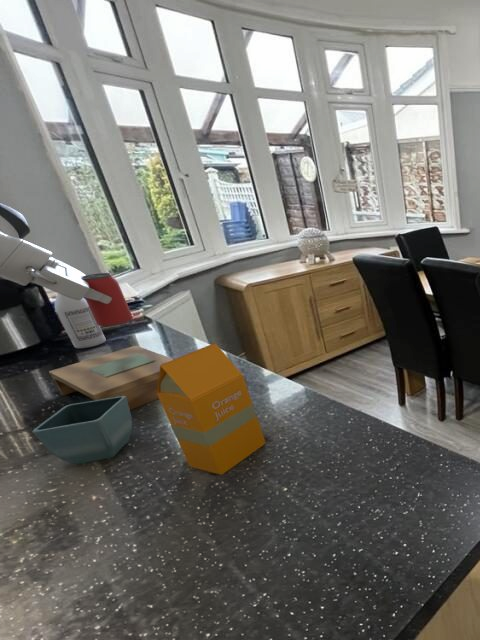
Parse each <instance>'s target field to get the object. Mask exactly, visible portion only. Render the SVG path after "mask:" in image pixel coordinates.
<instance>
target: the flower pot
mask: <svg viewBox="0 0 480 640" xmlns="http://www.w3.org/2000/svg"><path fill="white" fill-rule="evenodd" d="M132 430H133V418H132V414H131V410H129V406H128V402H127V399H126V396H120V397H113V398H108V399H101V400H95V401H94V400H89V401H83V402H77V403H70V404H67V405H65V406H63V407H62V408H61V409H59V410H58V411H56V412H55V413H54V414H53V415H51V416H50V417H48V418H47V419H46V420H45V421H43V422H42V423H41V424H40V425H38V426H37V427H35V428H34V429H32V431H31V433H32V434H33V435H34V436H35V437H36V438H37V439H38V440H39V441H40V443H41V444H42V445H43V446H44V447H45V448H46V449H47V450H48V451H49V453H51V454H52V455H54V456H55V457H57V458H59V459H60V460H61V461H64V462H68V463H70V464H74V465H80V464H85V463H91V462H95V461H101V460H106V459H112V458H114V457H116V455H117V454H118V453H119V452H120V451H121V450H122V448H123V447H125V445H126V444H128V443H129V441H130V439H131V438H130V437H131V434H132Z"/></svg>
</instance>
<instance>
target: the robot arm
mask: <svg viewBox="0 0 480 640" xmlns="http://www.w3.org/2000/svg"><path fill="white" fill-rule="evenodd" d="M30 233H31V229H30V225H29V223H28V221H27V219H26V217H25V216H24V214H22V213H21V212H19V211H18V210H16V209H15V208H12V207H11V206H8V205H6V204H5V203H1V202H0V278H3V279H5V280H8V281H11V282H13V283H16V284H18V285H21V286H27V285H28V284H29V283H33V284H35V285H38V286H41V287H42V288H45V289H46V290H47V289H48V290H50V291H52V292H55V293H57V294H58V293H59V294H62V295H64V296H67V297H69V298H72V299H75V300H81V299H82V298H85V297H86V298H89V299H93V300H97V301H100V302H103V303H105V304H108V303H109V302H110V301H111V300H112V298H111V297H110V296H108V295H106V294H102V293H100V292H98V291H95V290H94V289H91V288H89V284H88V282H87V281H85V280H83V279H81V278H82V276H86V274H85V273H84V272H82V271H81V270H78V269H77V268H75V267H73V266H71V265H69V264H67V263H65V262H63V261H61V260H60V259H58V258H55V257H53V256H52V255H53V252H52V251H50V250H48V249H45V248H43V247H41V246H39V245H36V244H34V243H32V242H29V241H27V240H25V239H24V238H26V237H27V235H28V234H30Z"/></svg>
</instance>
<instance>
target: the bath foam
mask: <svg viewBox="0 0 480 640" xmlns="http://www.w3.org/2000/svg"><path fill="white" fill-rule="evenodd" d="M54 310H55V312H56V313H55V314H56V316H57V317H58V319H59V320H60V323H61V324H62V327H63V328H64V329H65V332H66V334H67V336H68V338H69V340H70V342H71V343H72V345H73V347H74V348H75V349H88V348H93V347H97V346H100V345H102V344H104V343H105V342H106V341H107V339H106V337H105V334H104V332H103V330H102V328H101V326H99V325H97V323H96V321H95V318H94V316H93V314H92V312H91V310H90V308H89V306H88V304H87V301H86V299H85V297H83V298H82V299H81V300H75V299H72V298H69V297H67V296H64V295H62V294H59V293H57V295H56V297H55V300H54Z"/></svg>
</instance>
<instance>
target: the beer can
mask: <svg viewBox="0 0 480 640" xmlns="http://www.w3.org/2000/svg"><path fill="white" fill-rule="evenodd" d="M85 275H86V274H85ZM81 279H83V280H85V281H87V282H88V284H89V288H91V289H94V290H95V291H98V292H100V293H102V294H106V295H108V296H110V297H111V298H112V300H111V301H110V302H109V303H108V304H105V303H103V302H100V301H97V300H93V299H89V298H86V297H84V299H85V300H86V301H87V304H88V306H89V308H90V310H91V312H92V314H93V316H94V318H95V321H96V323H97V325H99V326H100V327H103V328H104V327H105V328H107V327H108V328H109V327H116V326H120V325H124V324H128V323H130V322H131V321H133V319H134V317H133V314H132V312H131V309H130V307H129V305H128V302H127V300H126V297H125V295H124V293H123V291H122V288H121V286H120V284H119V281H118V280H117V279H116V278H115V277H114V276H113V274H112V272H111V273H110V272H101V273H93V274H87V275H86V276H82V278H81Z"/></svg>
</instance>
